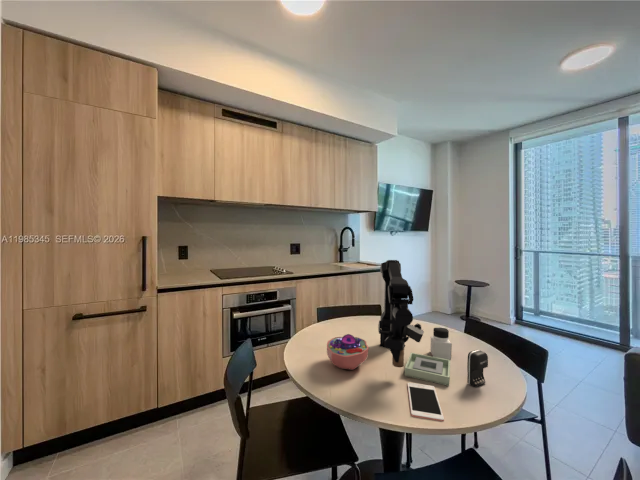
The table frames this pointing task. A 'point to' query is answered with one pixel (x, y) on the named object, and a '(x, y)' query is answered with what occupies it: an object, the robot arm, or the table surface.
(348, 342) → the cell model
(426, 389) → the cell phone
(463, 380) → the table surface
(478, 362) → the battery charger
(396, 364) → the peg
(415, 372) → the tray
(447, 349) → the medicine bottle
